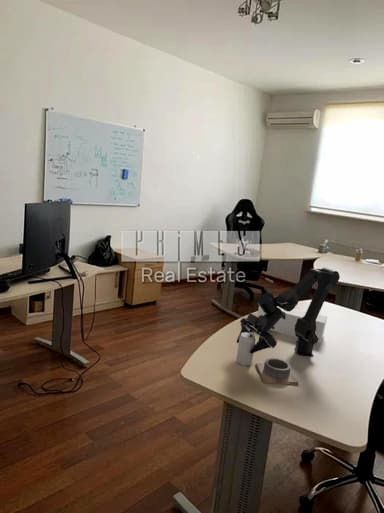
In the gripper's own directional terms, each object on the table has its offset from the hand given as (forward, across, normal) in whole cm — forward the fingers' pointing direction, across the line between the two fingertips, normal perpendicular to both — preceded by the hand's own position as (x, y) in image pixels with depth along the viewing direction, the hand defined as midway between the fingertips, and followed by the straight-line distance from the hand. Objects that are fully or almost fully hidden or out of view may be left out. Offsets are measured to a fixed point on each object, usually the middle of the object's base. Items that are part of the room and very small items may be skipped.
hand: (243, 347), depth 152 cm
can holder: (-1, +12, +11) cm, 16 cm away
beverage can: (+4, 0, +6) cm, 7 cm away
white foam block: (-26, -22, +37) cm, 50 cm away
